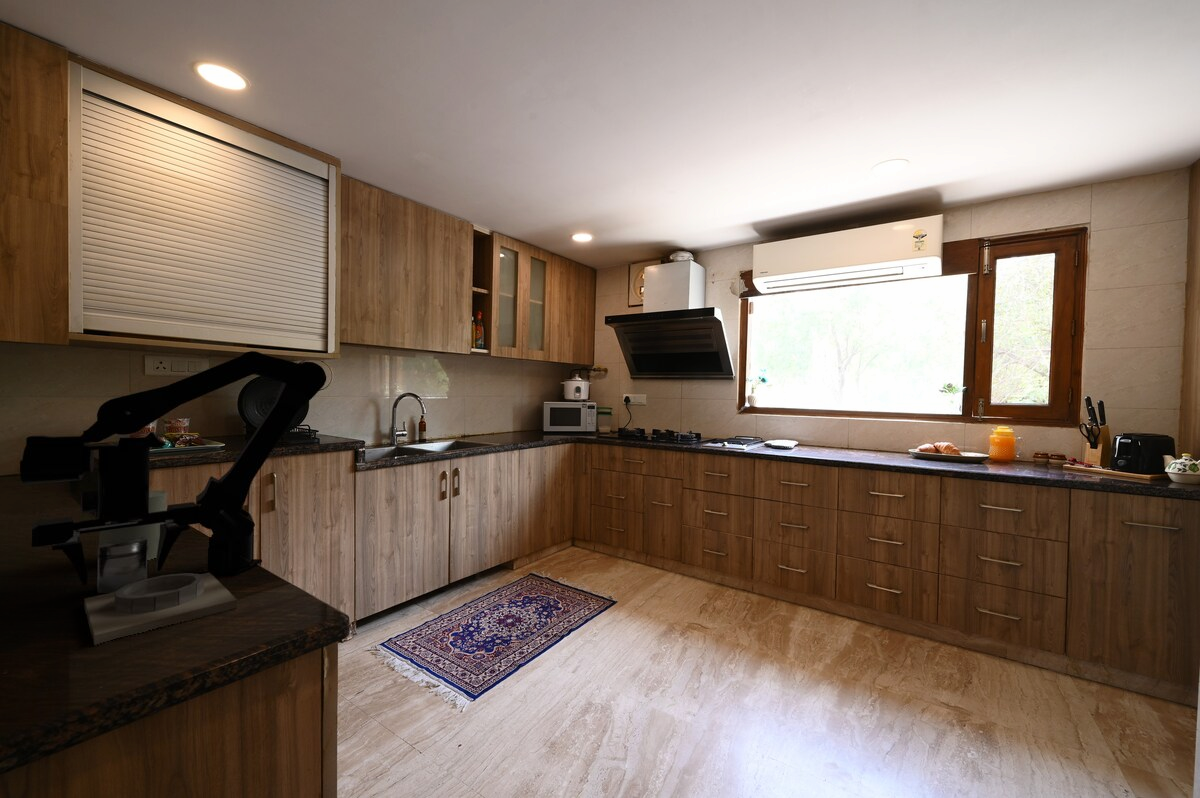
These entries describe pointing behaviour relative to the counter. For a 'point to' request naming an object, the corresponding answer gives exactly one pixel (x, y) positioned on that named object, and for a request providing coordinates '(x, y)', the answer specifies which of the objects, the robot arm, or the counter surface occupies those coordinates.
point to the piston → (121, 563)
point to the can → (145, 531)
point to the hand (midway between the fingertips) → (122, 577)
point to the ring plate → (155, 604)
